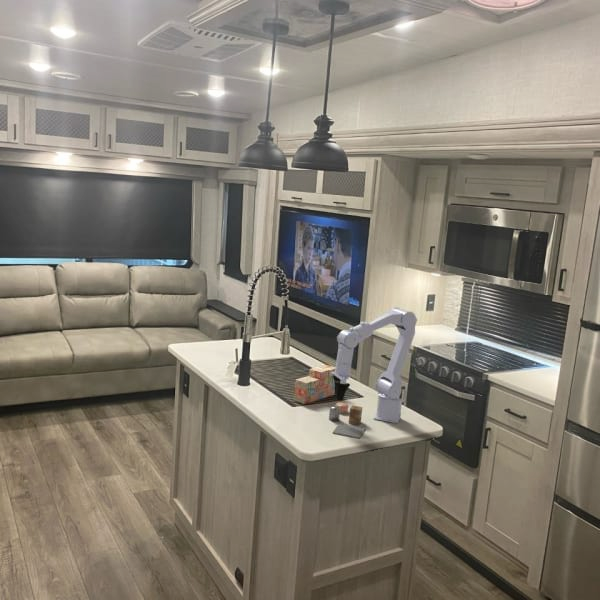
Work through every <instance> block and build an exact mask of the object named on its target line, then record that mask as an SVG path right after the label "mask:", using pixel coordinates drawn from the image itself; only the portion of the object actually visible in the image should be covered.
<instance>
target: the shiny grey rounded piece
mask: <svg viewBox="0 0 600 600" xmlns="http://www.w3.org/2000/svg"><path fill="white" fill-rule="evenodd" d="M328 414H329V416H328V420H329V421H331V422H334V423H335V422H336V423H337V422H339V421H340V417H341V416H340V415H341V414H340V407H339V406H336V405H329V413H328Z"/></svg>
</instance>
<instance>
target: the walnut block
mask: <svg viewBox="0 0 600 600" xmlns="http://www.w3.org/2000/svg"><path fill="white" fill-rule="evenodd" d="M362 414H363V406H359V405H351V407H350V408H349V415H348V416H349V417H348V425H354V426H359V425H360V424H361V422H362Z"/></svg>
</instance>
